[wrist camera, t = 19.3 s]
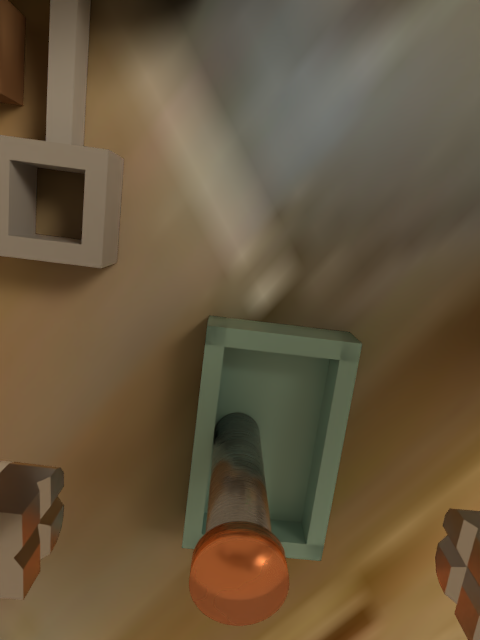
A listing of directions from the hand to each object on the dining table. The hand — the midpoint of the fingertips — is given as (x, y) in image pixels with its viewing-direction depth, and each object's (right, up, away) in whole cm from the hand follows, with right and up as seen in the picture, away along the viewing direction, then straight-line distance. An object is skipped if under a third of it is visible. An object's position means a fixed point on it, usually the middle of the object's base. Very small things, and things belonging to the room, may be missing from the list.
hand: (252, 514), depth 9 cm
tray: (+1, -2, +17) cm, 17 cm away
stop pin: (0, -2, +16) cm, 17 cm away
